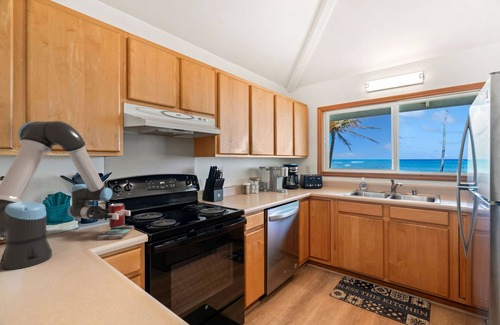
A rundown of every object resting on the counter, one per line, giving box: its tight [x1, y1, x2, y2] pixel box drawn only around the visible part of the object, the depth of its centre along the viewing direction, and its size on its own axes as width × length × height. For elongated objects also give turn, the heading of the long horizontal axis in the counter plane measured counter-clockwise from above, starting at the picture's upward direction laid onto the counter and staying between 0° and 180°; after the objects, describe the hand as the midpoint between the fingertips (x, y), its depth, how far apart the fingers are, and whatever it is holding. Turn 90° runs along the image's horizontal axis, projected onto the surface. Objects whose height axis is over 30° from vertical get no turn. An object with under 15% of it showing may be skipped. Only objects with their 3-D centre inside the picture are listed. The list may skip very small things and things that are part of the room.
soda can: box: [108, 202, 126, 229], centre depth 126 cm, size 7×7×12 cm
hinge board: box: [96, 225, 135, 241], centre depth 126 cm, size 12×18×3 cm, turn 8°
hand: (123, 214), depth 125 cm, fingers closed on soda can, 7 cm apart
